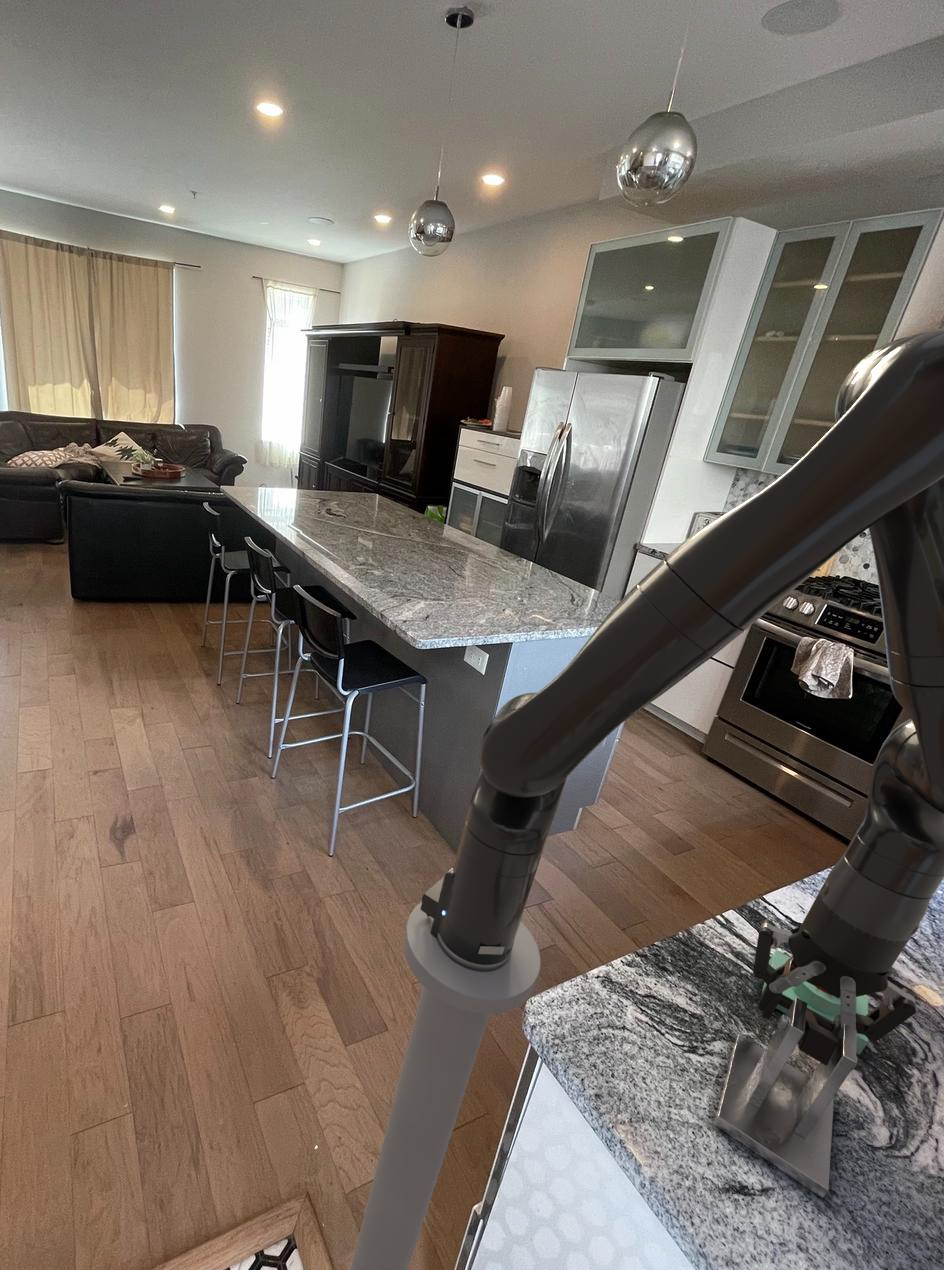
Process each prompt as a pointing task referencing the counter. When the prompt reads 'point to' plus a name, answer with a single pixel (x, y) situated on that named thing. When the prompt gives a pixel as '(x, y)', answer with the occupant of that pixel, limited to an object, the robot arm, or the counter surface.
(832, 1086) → the bracket
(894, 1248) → the counter surface
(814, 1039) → the lever
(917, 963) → the counter surface
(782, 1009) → the button block
